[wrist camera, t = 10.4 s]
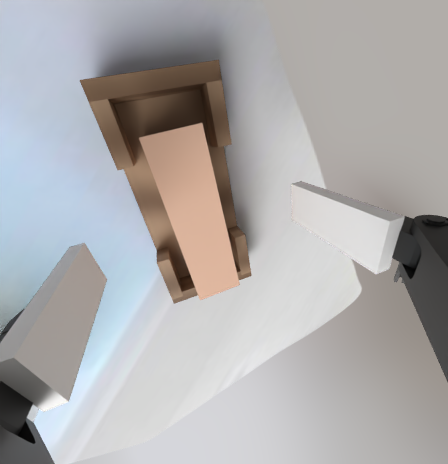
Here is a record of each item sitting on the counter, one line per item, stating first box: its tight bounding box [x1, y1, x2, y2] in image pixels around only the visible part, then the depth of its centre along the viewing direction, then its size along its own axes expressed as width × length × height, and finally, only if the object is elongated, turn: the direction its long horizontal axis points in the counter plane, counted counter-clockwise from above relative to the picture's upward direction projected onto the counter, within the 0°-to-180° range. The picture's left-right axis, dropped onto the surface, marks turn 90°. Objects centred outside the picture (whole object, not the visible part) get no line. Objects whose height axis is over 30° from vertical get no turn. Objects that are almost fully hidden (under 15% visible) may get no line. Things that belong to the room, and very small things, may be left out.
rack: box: [80, 60, 251, 304], centre depth 20 cm, size 20×9×3 cm, turn 10°
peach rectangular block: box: [139, 123, 240, 300], centre depth 18 cm, size 14×4×6 cm, turn 12°
